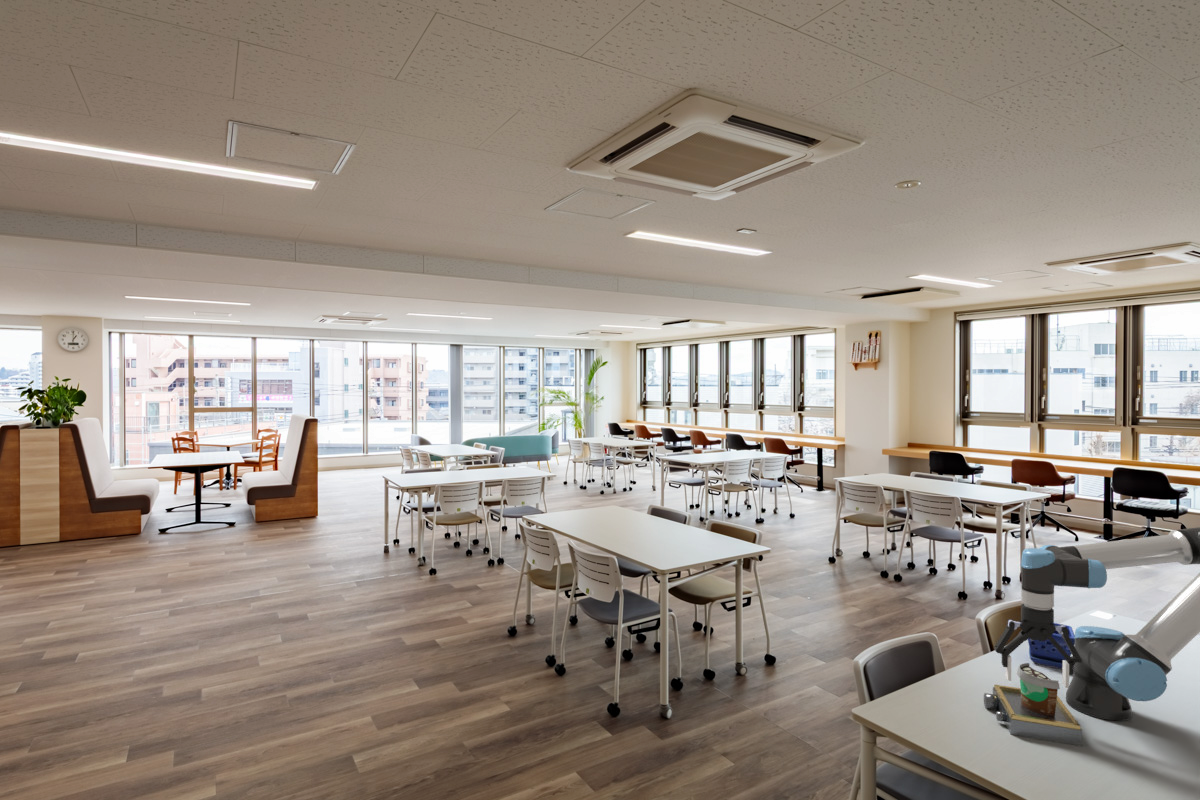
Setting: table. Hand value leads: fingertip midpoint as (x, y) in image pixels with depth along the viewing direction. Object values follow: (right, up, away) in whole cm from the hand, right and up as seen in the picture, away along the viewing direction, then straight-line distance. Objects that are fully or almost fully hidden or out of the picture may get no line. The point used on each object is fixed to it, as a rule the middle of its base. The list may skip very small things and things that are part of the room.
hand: (1036, 682), depth 179 cm
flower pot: (+32, -11, +41) cm, 53 cm away
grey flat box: (-2, -11, +1) cm, 11 cm away
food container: (-1, -7, 0) cm, 7 cm away
